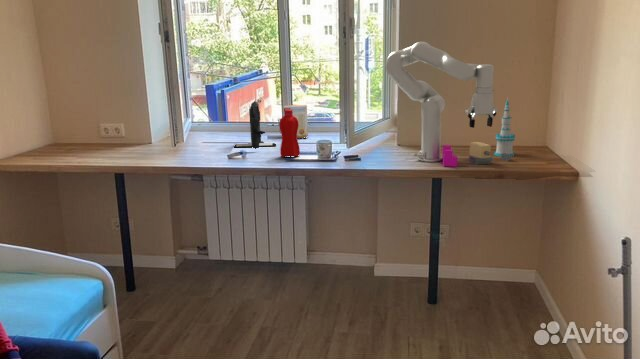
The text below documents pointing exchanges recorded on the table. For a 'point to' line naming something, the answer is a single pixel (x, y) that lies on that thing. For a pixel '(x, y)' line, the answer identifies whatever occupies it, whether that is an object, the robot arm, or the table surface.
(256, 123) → the black upright stand
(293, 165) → the table surface
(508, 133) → the model tower
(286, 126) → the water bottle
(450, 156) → the toy block
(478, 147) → the yellow rectangular block
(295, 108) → the cracker box
